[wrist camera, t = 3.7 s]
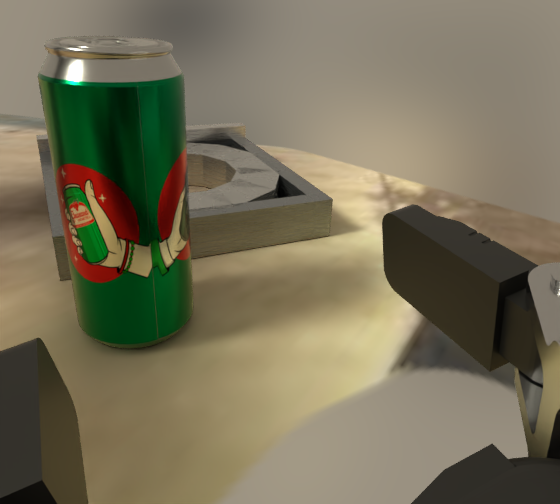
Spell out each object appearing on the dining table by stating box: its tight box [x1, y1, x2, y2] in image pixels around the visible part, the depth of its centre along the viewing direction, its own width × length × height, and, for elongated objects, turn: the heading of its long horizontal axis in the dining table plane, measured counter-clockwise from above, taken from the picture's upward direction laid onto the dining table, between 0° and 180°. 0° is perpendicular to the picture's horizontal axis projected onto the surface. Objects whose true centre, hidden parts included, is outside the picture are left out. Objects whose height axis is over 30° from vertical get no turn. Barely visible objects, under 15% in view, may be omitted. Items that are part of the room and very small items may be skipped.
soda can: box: [38, 36, 193, 349], centre depth 21 cm, size 5×5×12 cm
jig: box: [36, 123, 333, 280], centre depth 35 cm, size 16×16×4 cm
